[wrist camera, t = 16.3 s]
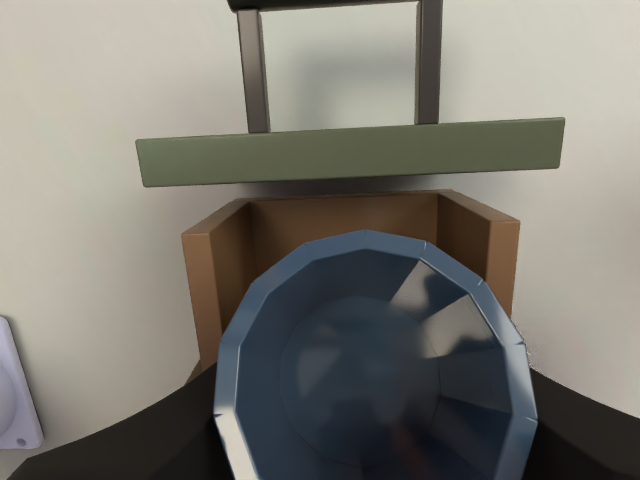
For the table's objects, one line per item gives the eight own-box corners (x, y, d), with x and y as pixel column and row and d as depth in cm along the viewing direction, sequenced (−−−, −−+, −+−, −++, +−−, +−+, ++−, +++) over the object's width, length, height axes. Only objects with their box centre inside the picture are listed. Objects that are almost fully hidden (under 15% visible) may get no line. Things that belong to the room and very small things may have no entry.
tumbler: (265, 477, 10) (197, 573, 5) (274, 285, 12) (228, 230, 7) (460, 482, 10) (568, 587, 5) (439, 284, 12) (506, 225, 7)
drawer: (197, 7, 14) (92, -90, 8) (478, -12, 13) (598, -131, 7) (244, 395, 19) (202, 521, 13) (454, 391, 18) (516, 520, 12)
